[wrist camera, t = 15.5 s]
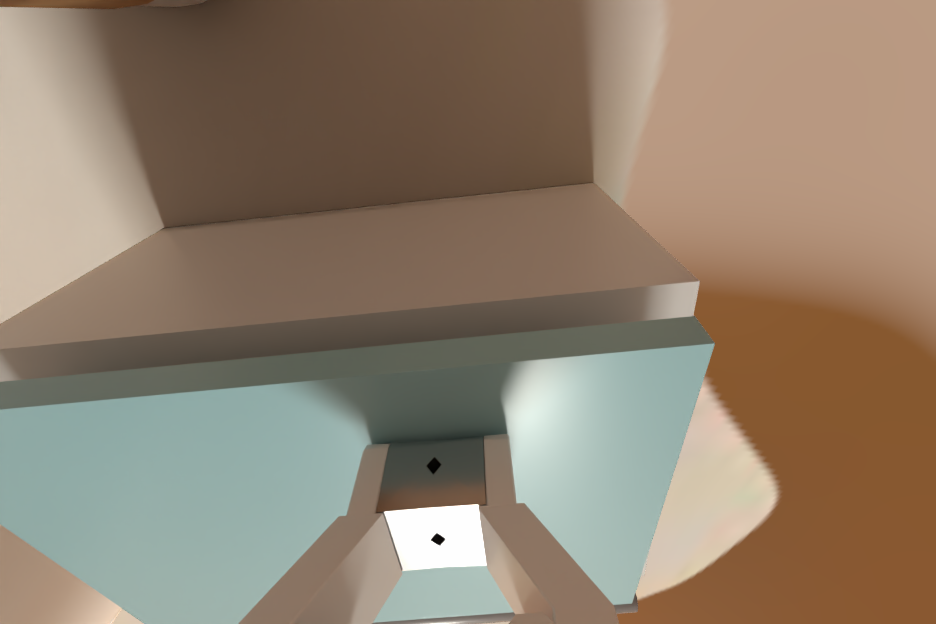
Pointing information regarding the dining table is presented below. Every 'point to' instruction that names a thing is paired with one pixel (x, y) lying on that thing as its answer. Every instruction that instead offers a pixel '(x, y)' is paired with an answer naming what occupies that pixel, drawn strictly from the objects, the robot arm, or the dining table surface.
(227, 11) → the dining table surface
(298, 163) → the dining table surface
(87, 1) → the coffee cup
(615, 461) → the cover
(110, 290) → the white box
